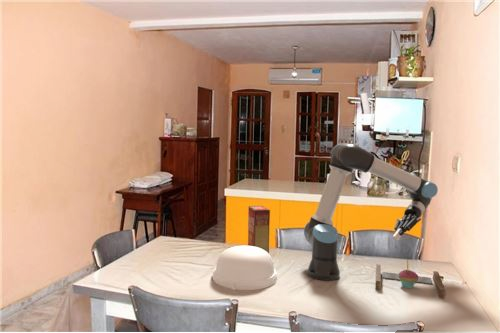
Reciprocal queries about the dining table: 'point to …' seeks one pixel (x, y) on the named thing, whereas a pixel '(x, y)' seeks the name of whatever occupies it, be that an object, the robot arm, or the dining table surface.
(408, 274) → the cupcake
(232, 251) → the dome cover
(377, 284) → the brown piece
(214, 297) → the dining table surface
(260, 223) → the food packaging
